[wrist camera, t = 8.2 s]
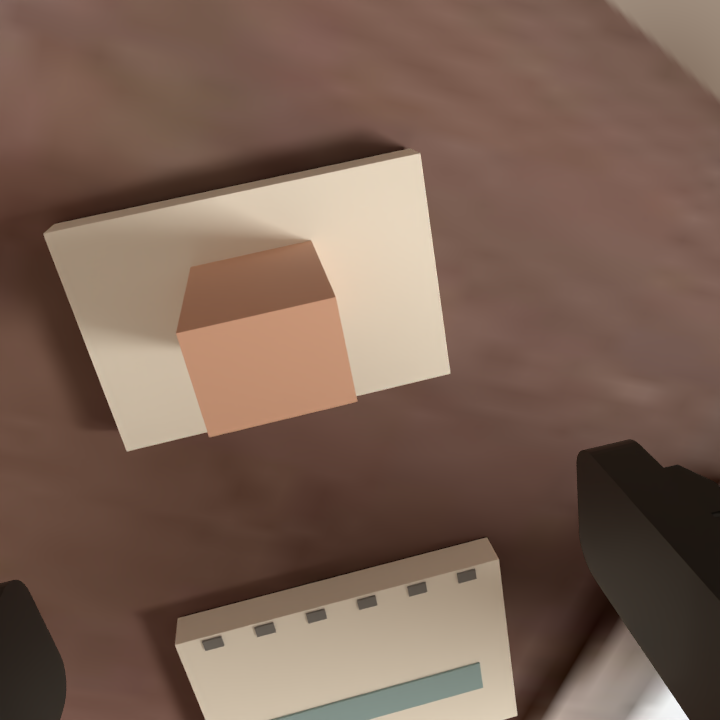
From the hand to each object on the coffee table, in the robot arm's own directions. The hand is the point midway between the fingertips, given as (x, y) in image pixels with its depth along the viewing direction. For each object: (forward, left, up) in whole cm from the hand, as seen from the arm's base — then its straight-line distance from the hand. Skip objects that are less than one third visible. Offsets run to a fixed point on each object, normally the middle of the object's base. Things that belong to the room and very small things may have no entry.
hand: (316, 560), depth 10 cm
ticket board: (0, +19, -16) cm, 25 cm away
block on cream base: (0, +1, -16) cm, 16 cm away
